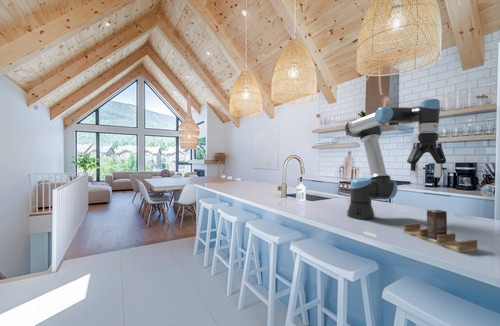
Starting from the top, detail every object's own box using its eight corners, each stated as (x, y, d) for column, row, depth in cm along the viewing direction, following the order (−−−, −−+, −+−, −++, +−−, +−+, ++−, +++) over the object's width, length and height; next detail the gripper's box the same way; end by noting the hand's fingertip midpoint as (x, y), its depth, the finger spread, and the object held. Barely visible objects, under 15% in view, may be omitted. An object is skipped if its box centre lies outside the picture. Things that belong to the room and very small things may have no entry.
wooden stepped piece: (403, 232, 112) (404, 224, 112) (418, 231, 114) (419, 223, 114) (459, 252, 89) (459, 242, 89) (477, 250, 91) (477, 240, 91)
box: (437, 235, 104) (437, 209, 104) (447, 239, 100) (447, 211, 100) (425, 236, 103) (426, 209, 103) (435, 240, 99) (436, 212, 98)
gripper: (413, 131, 103) (411, 179, 104) (457, 132, 109) (454, 177, 110) (399, 132, 110) (397, 177, 112) (441, 133, 116) (438, 176, 117)
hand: (425, 177), depth 111 cm, fingers open, 13 cm apart
